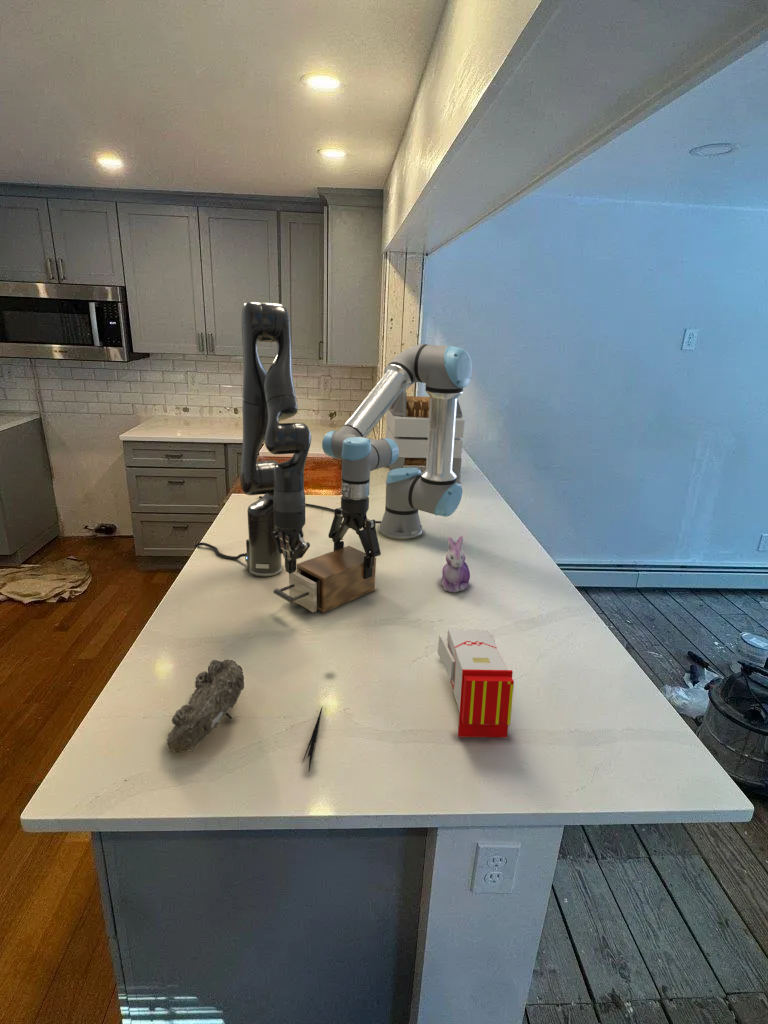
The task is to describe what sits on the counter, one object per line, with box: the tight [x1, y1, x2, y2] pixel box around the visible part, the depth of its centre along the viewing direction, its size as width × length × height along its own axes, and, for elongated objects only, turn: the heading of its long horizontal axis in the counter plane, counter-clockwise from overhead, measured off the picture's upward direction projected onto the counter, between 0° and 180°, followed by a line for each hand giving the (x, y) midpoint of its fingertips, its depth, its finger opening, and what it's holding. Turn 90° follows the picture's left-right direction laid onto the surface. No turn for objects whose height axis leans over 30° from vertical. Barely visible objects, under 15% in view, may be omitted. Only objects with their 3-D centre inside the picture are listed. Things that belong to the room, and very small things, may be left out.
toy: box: [437, 628, 515, 738], centre depth 117 cm, size 12×13×30 cm
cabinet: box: [296, 545, 377, 614], centre depth 155 cm, size 19×11×10 cm, turn 136°
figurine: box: [440, 535, 471, 593], centre depth 161 cm, size 9×10×15 cm
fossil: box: [166, 658, 245, 754], centre depth 106 cm, size 22×10×15 cm
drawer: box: [273, 570, 322, 613], centre depth 150 cm, size 24×10×8 cm, turn 136°
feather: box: [301, 673, 332, 771], centre depth 108 cm, size 2×28×2 cm
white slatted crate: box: [384, 389, 465, 484], centre depth 268 cm, size 34×33×41 cm
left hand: (290, 571), depth 142 cm, fingers closed
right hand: (352, 570), depth 159 cm, fingers closed on cabinet, 11 cm apart
